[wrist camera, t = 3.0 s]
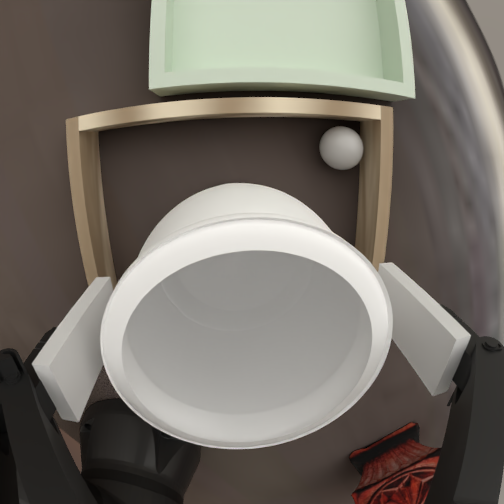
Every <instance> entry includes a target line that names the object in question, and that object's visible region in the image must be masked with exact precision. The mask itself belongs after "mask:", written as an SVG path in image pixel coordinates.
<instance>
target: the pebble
mask: <svg viewBox="0 0 504 504" xmlns="http://www.w3.org/2000/svg"><path fill="white" fill-rule="evenodd" d="M319 149H320V154H321V156H322V158H323V160H324V161H325V162H326V163H327V164H328V165H329V166H330V167H332V168H335V169H338V170H347V169H350V168H353V167H354V166H356V165H357V164H358V163H359V162H360V160H361V158H362V156H363V150H364V149H363V142H362V140H361V138H360V136H359V135H358V134H357V133H356V132H355V131H354V130H352V129H350V128H348V127H344V126H336V127H333V128H331V129H329V130H327V131H326V132H325V133H324V134H323V136H322V138H321V140H320V145H319Z"/></svg>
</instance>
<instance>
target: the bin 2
mask: <svg viewBox="0 0 504 504" xmlns="http://www.w3.org/2000/svg"><path fill="white" fill-rule="evenodd" d="M233 117H300V118H323V119H338V120H351V121H360V138H361V140H362V142H363V149H364V150H363V156H362V158H361V160H360V171H359V196H358V213H357V227H356V240H355V248H356V249H357V250H358V251H360V252H361V253H362V254H363V255H364V256H365V257H366V258H367V259H368V260H369V261H370V263H371V264H372V265H373V266H374V268H375V269H376V270H377V272H378V270H379V263H384V258H385V250H386V242H387V233H388V223H389V212H390V199H391V184H392V163H393V107H387V106H380V105H372V104H365V103H356V102H347V101H336V100H323V99H308V98H282V97H238V98H213V99H197V100H184V101H173V102H164V103H155V104H147V105H140V106H133V107H126V108H120V109H114V110H109V111H103V112H98V113H93V114H88V115H83V116H79V117H74V118H70V119H66V135H67V153H68V165H69V176H70V185H71V194H72V202H73V209H74V215H75V222H76V228H77V234H78V239H79V245H80V250H81V255H82V260H83V264H84V269H85V273H86V278H87V282H88V286H90V285H91V283H92V282H93V281H94V280H95V278H96V277H110V278H111V283H112V287H113V290H114V289H115V287H116V285H117V278H116V273H115V268H114V263H113V258H112V252H111V246H110V240H109V234H108V227H107V220H106V213H105V205H104V197H103V188H102V178H101V166H100V153H99V136H98V131H104V130H110V129H116V128H123V127H129V126H137V125H144V124H153V123H162V122H172V121H183V120H195V119H211V118H233Z"/></svg>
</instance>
